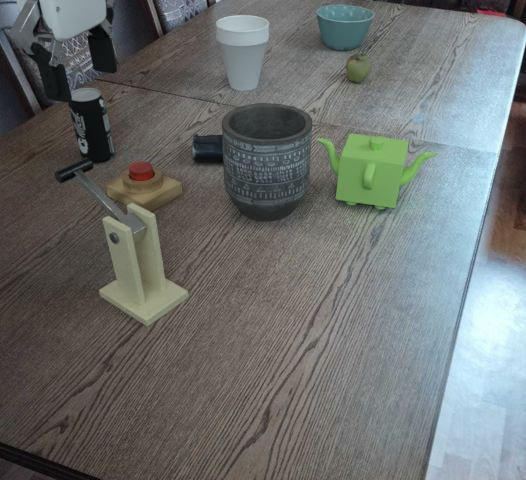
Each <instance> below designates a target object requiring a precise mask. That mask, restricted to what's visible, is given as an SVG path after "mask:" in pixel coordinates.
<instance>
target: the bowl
mask: <svg viewBox="0 0 526 480" xmlns="http://www.w3.org/2000/svg"><path fill="white" fill-rule="evenodd" d="M315 14H316V19H317V24H318V29H319V33H320V37H321V41H322V42H323V44H325V46H326V47H327V48H329V49H331V50H335V51H352V50H355V49H357V48H358V47H360V46H361V45H362V44H363V42H364V40H365V38H366V36H367V34H368V32H369V30H370V27H371V25H372V22H373V21H374V18H375V13H374V11H372V10H370V9H368V8H365V7H362V6H357V5H351V4H330V5H325V6H321V7H319V8H318V9H316V12H315Z"/></svg>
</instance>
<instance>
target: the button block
mask: <svg viewBox="0 0 526 480" xmlns="http://www.w3.org/2000/svg"><path fill="white" fill-rule="evenodd" d="M151 165H152V168H153V174H154V176H153V178H151V179H149V180H145V181H134V180H132V179H131V178H130V172H129V167H128V168H126V169H125V170H124V171H123V172H122V173H121V175H120V177H118V178H116V179H115V178H114V179H113V180H110V181H109V182H108V183H105V184H104V186H105V191H106V196H107V197H108V198H111V199H113V200H115V201H117V202H119V203H121V204H122V205H125V206H126V207H127V205H129V204H131V203H134V204H136V205H138V206H140V207H142V208H144V209H146V210H148V211H150V212H152V213H153V211H156V210H158V209H159V208H161V207H163V206H164V205H166V204H168V203H170V202H172V201H173V200H175V199H177V198H178V197H181V196H182V195H183V194H184V193H183V184H182V182H180V181H178V180H176V179H173V178H171V177H169V176H167V175H165V174H163V172H162V170H161V168H160V167H157V166H155V165H153V164H151Z"/></svg>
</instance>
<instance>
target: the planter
mask: <svg viewBox="0 0 526 480" xmlns="http://www.w3.org/2000/svg"><path fill="white" fill-rule="evenodd" d="M292 106H293V105H287V104H282V103H272V102H271V103H269V102H257V103H251V104H245V105H242V106H239V107H235V108H233V109H231V110H230V111H228V112H227V113H226V114H225V115H224V116H223V118H222V119H221V135H222V141H223V161H224V162H223V182H224V190H225V193H226V194H227V196H228V197H229V198H230V200H231V201H232V203H233V204H234V205H235V207H236V208H237V210H239V212H240V213H241V214H242V215H243V216H244V217H246V218H249V219H251V220H253V221H254V220H255V221H259V222H274V221H279V220H282V219H285V218H287V217H288V216H290V215H291V214H292V213H293V212H294V210H295V209H296V208H297V207H298V206H299V204H300V203H301V201H302V200H303V199H304V197H306V194H307V192H308V190H309V185H310V184H309V183H310V172H311V171H310V168H311V167H310V166H311V156H312V155H311V153H312V137H313V136H312V134H313V119H312V117H311V115H310V114H309V113H308V112H306V111H304V110H303V109H301V108H298V107H296V106H294V107H292ZM295 107H296V108H295Z"/></svg>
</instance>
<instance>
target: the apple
mask: <svg viewBox="0 0 526 480" xmlns="http://www.w3.org/2000/svg"><path fill="white" fill-rule="evenodd" d="M345 70H346V74H347V79H349V81H350V82H355V83H357V84H361V82H363V81H364V79H365V78H367V76H368V75H369V73H370V72H371V60H370V58H369V56H368V55H367V54H366V53H356V54H355V53H354V54H352V55H350V56H349V57H348V58H347V59H346V62H345Z"/></svg>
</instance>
